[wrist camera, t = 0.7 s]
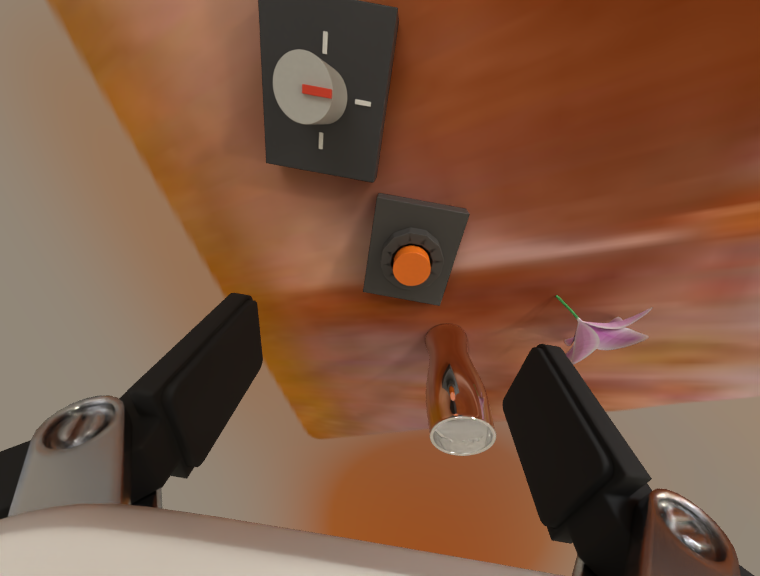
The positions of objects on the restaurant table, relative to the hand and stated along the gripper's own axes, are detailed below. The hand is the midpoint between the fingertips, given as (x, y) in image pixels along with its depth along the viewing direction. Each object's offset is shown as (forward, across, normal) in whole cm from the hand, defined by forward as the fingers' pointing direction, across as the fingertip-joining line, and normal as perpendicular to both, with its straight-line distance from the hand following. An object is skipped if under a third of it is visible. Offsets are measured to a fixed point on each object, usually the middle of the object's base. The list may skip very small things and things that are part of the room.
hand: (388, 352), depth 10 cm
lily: (+26, -25, +12) cm, 38 cm away
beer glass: (+26, -10, +19) cm, 34 cm away
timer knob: (+22, +9, -8) cm, 25 cm away
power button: (+22, -2, +6) cm, 23 cm away
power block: (+25, -2, +6) cm, 26 cm away
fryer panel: (+25, +8, -8) cm, 28 cm away
